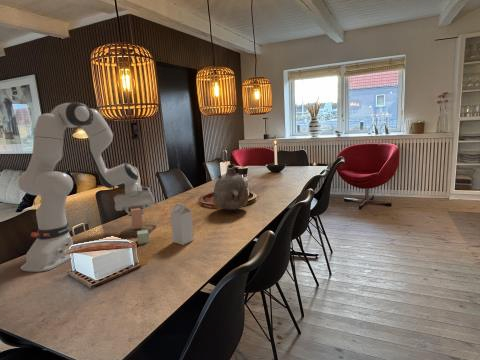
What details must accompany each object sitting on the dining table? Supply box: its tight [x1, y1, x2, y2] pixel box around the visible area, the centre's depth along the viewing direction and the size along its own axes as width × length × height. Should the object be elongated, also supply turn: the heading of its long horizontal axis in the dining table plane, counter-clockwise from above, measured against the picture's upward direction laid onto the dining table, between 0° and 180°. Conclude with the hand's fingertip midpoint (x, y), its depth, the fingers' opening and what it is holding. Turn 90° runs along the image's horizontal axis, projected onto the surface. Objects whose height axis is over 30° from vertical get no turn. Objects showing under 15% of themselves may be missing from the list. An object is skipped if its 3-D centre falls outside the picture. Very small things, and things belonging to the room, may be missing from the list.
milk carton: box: [170, 202, 194, 246], centre depth 151 cm, size 7×7×19 cm
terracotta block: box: [130, 207, 144, 229], centre depth 166 cm, size 5×5×10 cm
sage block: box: [137, 230, 150, 245], centre depth 154 cm, size 5×5×5 cm
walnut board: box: [118, 224, 157, 238], centre depth 168 cm, size 14×14×2 cm
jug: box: [213, 163, 249, 212], centre depth 194 cm, size 24×21×30 cm
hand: (136, 214), depth 165 cm, fingers closed on terracotta block, 5 cm apart
